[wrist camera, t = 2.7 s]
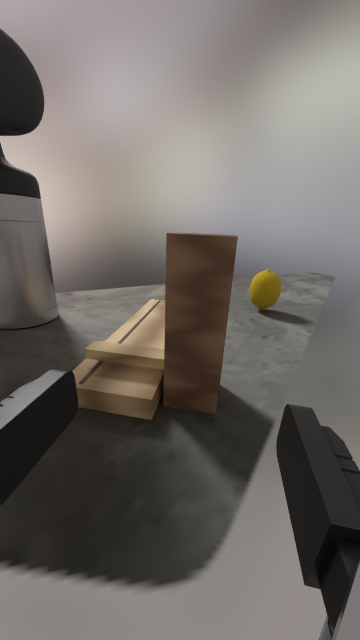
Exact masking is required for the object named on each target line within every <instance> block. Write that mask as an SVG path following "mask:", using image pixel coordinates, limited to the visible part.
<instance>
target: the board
mask: <svg viewBox="0 0 360 640" xmlns="http://www.w3.org/2000/svg"><path fill="white" fill-rule="evenodd" d="M105 342H112V343H119V344H127V345H135V346H143V347H151V348H159V349H164V344H165V301H164V300H153V299H151V300H150V301H149V302H148V303H147V304H146V305H144V306H143V307H142V308H141V309H140V310H139V311H138V312H137V313H136V314H135V315H133V316H132V317H131V318H130V319H129V320H128V321H127V322H126V323H125V324H123V325H122V326H121V327H120V328H119V329H118V330H117V331H116V332H115V333H114V334H112V335H111V336H110V337H109V338H108V339H107V340H106V341H105ZM72 372H73V373H74V375H75V381H76V389H77V396H78V407H80V408H86V409H91V410H97V411H103V412H108V413H114V414H120V415H125V416H131V417H137V418H142V419H148V420H152V418H153V416H154V413H155V411H156V408H157V406H158V403H159V401H160V398H161V396H162V393H163V391H164V369H157V368H150V367H143V366H136V365H128V364H121V363H114V362H107V361H100V360H93V359H85V360H84V361H83V362H82V363H81V364H79V365H78V366H77V367H76V368H75V369H74V370H73V371H72Z"/></svg>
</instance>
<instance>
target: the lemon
mask: <svg viewBox="0 0 360 640" xmlns="http://www.w3.org/2000/svg"><path fill="white" fill-rule="evenodd" d="M280 292H281V283H280V279H279V277H278V276H277V275H276V274H275V273H273V272H271V270H270V269H266V270H265V271H263V272H261V273H259V274H257V275H256V276H255V277H254V279H253V280H252V283H251V286H250V291H249V295H250V299H251V301H252V303H253V304H254V305H255V306H257V307H258V308H259V310H261V311H263V310H264V309H266V308H269V307H271V306H273V305H274V304H275V303H276V302H277V300H278V298H279V296H280Z"/></svg>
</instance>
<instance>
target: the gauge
mask: <svg viewBox="0 0 360 640" xmlns="http://www.w3.org/2000/svg"><path fill="white" fill-rule="evenodd" d="M237 238H238V237H237V236H236V235H219V234H218V235H217V234H198V233H167V242H166V244H167V245H166V293H165V344H164V349H159V348H151V347H143V346H135V345H127V344H119V343H112V342H104V341H96V340H95V341H93V342H92V343H91V344H90V345H89V346H87V347H86V348H85V357H86V359H93V360H100V361H107V362H114V363H121V364H128V365H136V366H143V367H150V368H157V369H164V395H163V406H164V407H170V408H176V409H182V410H188V411H194V412H200V413H206V414H212V415H216V410H217V402H218V394H219V386H220V377H221V369H222V361H223V353H224V345H225V336H226V328H227V320H228V312H229V303H230V295H231V287H232V279H233V270H234V262H235V254H236V246H237Z"/></svg>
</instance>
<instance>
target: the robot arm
mask: <svg viewBox="0 0 360 640" xmlns="http://www.w3.org/2000/svg"><path fill="white" fill-rule="evenodd" d="M43 112H44V95H43V90H42V86H41V82H40V80H39V77H38V75H37V73H36V71H35V69H34V67H33V65H32V63H31V62H30V60H29V59H28V57H27V56H26V54H25V53H24V52H23V50H22V49H21V48H20V47H19V46H18V44H17V43H15V41H14V40H13V39H12V38H11V37H10V36H9V35H7V34H6V33H5V32H4V31H3V30H1V29H0V136H17V135H23V134H27V133H30V132H31V131H33V130H34V129H35V128H36V127H37V126H38V125H39V123H40V121H41V119H42V116H43ZM40 199H41V197H40V190H39V185H38V182H37V180H36V178H35V177H34V176H33V175H31V174H30V173H28V172H26V171H24V170H21V169H19V168H16V167H14V166H12V165H11V164H10V163H9V162H8V161H7V160H6V159H5V156H4V154H3V151H2V147H1V144H0V328H3V329H17V328H26V327H32V326H37V325H41V324H44V323H47V322H49V321H52V320H53V319H55V318H56V317H57V316H58V307H57V301H56V294H55V288H54V282H53V275H52V268H51V261H50V255H49V249H48V242H47V235H46V229H45V223H44V216H43V210H42V204H41V200H40ZM77 410H78V396H77V389H76V381H75V375H74V373H73V372H72V371H67V370H60V369H50V370H49V371H47V372H46V373H45V374H44V375H42V376H41V377H40V378H38V379H36V380H34V381H32V382H30V383H28V384H25V385H23V386H21V387H20V388H19V389H17V390H16V391H15V392H13V393H12V394H11V395H9V397H8V398H5V399H4V400H3V401H1V402H0V504H1V505H2V504H3V503H4V502H5V501H6V500H7V498H8V497H9V496H10V495H11V494H12V492H13V491H14V490H15V489H16V488H17V486H18V485H19V484H20V483H21V481H22V480H23V479H24V478H25V477H26V475H27V474H28V473H29V472H30V471H31V469H32V468H33V467H34V466H35V465H36V463H37V462H38V461H39V460H40V459H41V457H42V456H43V455H44V454H45V452H46V451H47V450H48V449H49V448H50V446H51V445H52V444H53V443H54V442H55V440H56V439H57V438H58V437H59V436H60V434H61V433H62V432H63V431H64V430H65V428H66V427H67V426H68V425H69V423H70V422H71V421H72V420H73V419H74V417H75V415H76V413H77ZM277 458H278V462H279V467H280V472H281V477H282V481H283V486H284V491H285V495H286V500H287V505H288V509H289V514H290V519H291V524H292V528H293V533H294V538H295V542H296V547H297V552H298V556H299V561H300V565H301V570H302V575H303V580H304V584H305V585H307V586H310V587H314V588H318V589H321V592H322V596H323V600H324V604H325V608H326V612H327V618H326V620H325V623H324V626H323V629H322V632H321V635H320V637H319V640H360V471H359V469H358V467H357V466H356V463H355V462H354V461H353V460H352V456H351V454H350V452H349V450H348V449H347V447H346V445H345V443H344V441H343V440H342V439H341V438H340V437H339V436H338V435H337V434H336V433H335V432H333V430H332V429H331V428H330V427H326V426H321V425H320V423H319V421H318V419H317V417H316V415H315V413H314V411H313V409H312V408H308V407H302V406H296V405H289V404H287V405H286V406H285V409H284V413H283V417H282V421H281V425H280V429H279V433H278V437H277Z"/></svg>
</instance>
